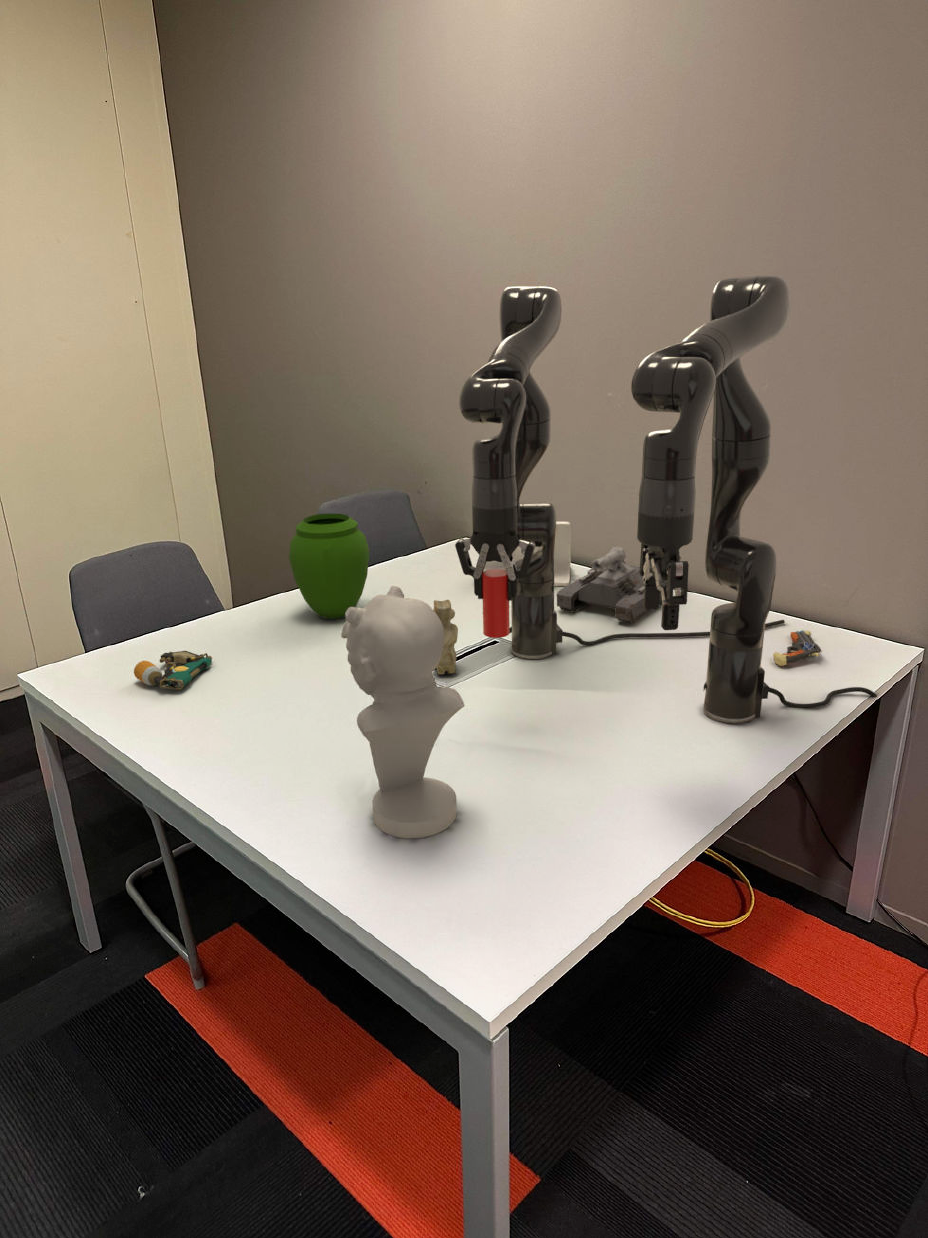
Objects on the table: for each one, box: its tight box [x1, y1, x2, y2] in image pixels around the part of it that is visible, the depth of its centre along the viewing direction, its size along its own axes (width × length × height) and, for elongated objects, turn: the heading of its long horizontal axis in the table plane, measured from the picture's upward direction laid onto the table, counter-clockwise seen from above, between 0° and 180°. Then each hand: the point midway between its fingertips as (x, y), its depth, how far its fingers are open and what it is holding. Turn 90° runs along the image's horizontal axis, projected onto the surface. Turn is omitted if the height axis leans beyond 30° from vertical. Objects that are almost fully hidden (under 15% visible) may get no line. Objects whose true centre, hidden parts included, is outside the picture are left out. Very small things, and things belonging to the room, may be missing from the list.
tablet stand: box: [483, 521, 572, 587], centre depth 236 cm, size 18×25×17 cm
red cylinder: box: [482, 569, 511, 639], centre depth 149 cm, size 5×5×11 cm
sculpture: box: [433, 599, 459, 675], centre depth 177 cm, size 6×7×15 cm
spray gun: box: [133, 650, 213, 690], centre depth 180 cm, size 4×17×15 cm
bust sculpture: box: [340, 585, 465, 839], centre depth 128 cm, size 16×24×35 cm, turn 28°
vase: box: [288, 512, 370, 620], centre depth 209 cm, size 20×20×24 cm
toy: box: [556, 546, 663, 624], centre depth 212 cm, size 25×20×15 cm
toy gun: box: [772, 630, 823, 667], centre depth 183 cm, size 3×19×10 cm
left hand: (496, 598), depth 148 cm, fingers closed on red cylinder, 4 cm apart
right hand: (660, 618), depth 123 cm, fingers open, 8 cm apart
